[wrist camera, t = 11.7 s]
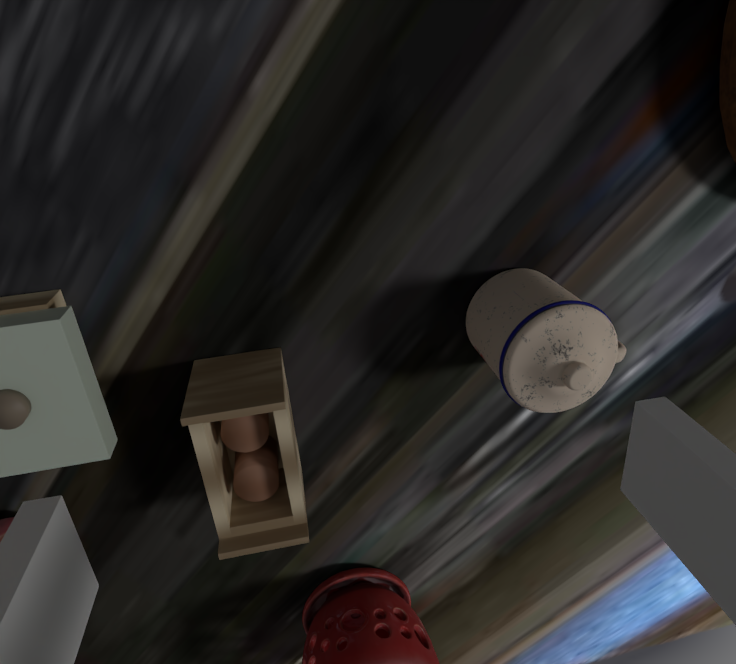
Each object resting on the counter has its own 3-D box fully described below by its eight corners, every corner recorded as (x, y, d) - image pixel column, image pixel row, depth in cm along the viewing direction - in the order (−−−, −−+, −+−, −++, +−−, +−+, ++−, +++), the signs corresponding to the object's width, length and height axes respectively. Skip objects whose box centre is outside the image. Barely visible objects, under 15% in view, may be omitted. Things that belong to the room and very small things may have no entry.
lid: (-86, 327, 37) (-117, 349, 34) (71, 305, 38) (54, 325, 35) (-19, 462, 41) (-42, 492, 38) (117, 439, 43) (106, 467, 40)
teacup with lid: (450, 355, 48) (501, 431, 38) (477, 257, 45) (542, 311, 34) (569, 367, 51) (648, 440, 41) (603, 275, 48) (699, 330, 37)
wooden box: (194, 360, 44) (180, 419, 37) (280, 347, 45) (284, 401, 38) (225, 486, 50) (219, 559, 42) (302, 472, 51) (309, 542, 43)
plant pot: (276, 629, 59) (279, 751, 48) (331, 541, 55) (347, 653, 44) (379, 650, 63) (403, 765, 53) (437, 570, 60) (475, 678, 49)
